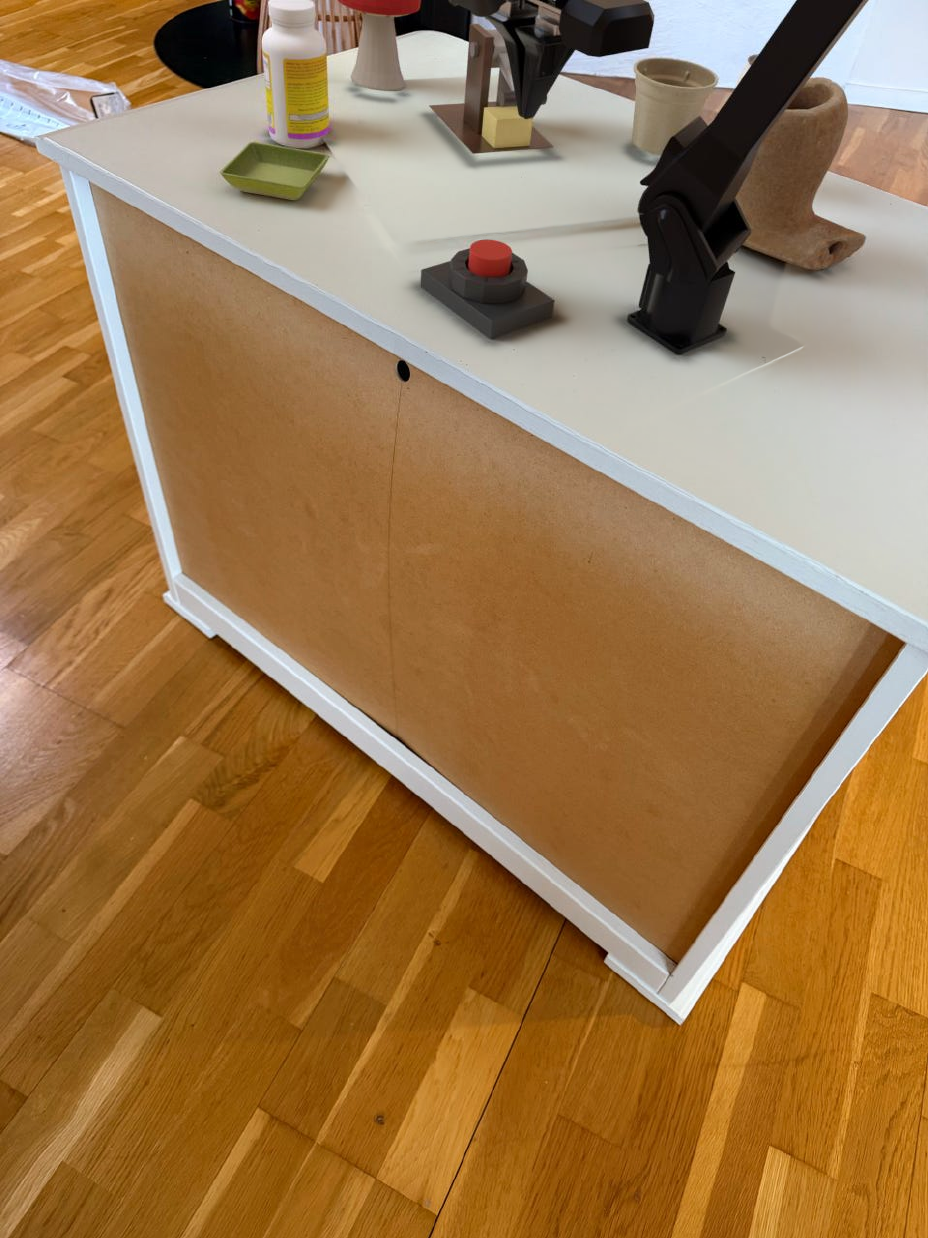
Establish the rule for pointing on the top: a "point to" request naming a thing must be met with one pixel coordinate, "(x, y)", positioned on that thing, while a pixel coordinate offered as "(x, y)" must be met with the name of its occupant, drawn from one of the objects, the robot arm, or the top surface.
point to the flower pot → (667, 99)
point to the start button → (490, 258)
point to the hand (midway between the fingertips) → (526, 117)
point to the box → (488, 295)
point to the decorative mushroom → (379, 43)
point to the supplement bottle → (295, 75)
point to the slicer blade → (504, 69)
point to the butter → (506, 127)
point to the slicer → (479, 98)
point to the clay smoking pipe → (798, 182)
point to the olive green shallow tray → (274, 170)
